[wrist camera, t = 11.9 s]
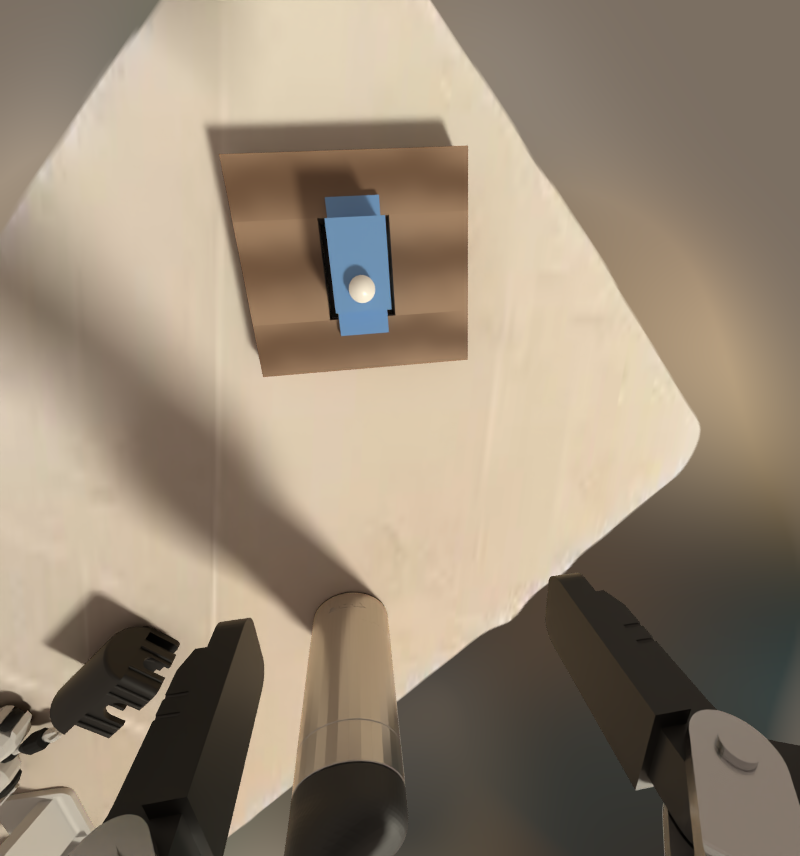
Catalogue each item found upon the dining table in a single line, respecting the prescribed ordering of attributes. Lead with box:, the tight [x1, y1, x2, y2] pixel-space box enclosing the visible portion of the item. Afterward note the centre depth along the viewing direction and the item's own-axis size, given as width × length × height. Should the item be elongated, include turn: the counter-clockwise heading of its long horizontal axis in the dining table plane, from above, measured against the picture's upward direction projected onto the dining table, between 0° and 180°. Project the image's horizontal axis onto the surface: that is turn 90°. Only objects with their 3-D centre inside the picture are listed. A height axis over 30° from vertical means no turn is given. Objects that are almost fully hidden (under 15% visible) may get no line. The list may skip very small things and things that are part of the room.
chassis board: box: [219, 146, 468, 377], centre depth 31 cm, size 16×18×3 cm
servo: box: [325, 195, 392, 336], centre depth 29 cm, size 10×4×8 cm, turn 4°
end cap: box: [50, 626, 180, 738], centre depth 41 cm, size 10×7×7 cm
